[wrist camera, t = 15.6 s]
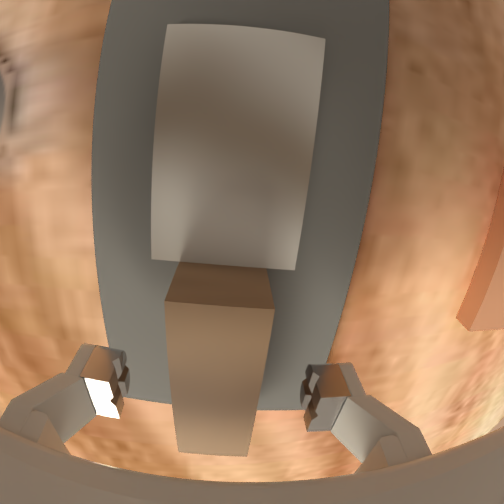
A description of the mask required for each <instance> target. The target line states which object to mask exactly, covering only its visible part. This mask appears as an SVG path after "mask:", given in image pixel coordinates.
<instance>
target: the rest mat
mask: <svg viewBox="0 0 504 504" xmlns="http://www.w3.org/2000/svg"><path fill="white" fill-rule="evenodd" d="M167 24H217V25H234V26H247V27H256V28H265V29H273V30H280V31H287V32H293V33H299V34H304V35H309V36H314V37H319V38H324V39H326V40H325V51H324V62H323V72H322V82H321V91H320V100H319V109H318V117H317V125H316V133H315V141H314V149H313V156H312V164H311V171H310V178H309V185H308V191H307V198H306V205H305V211H304V217H303V224H302V230H301V236H300V242H299V248H298V254H297V260H296V265H295V270H283V269H269V268H266V269H267V274H268V278H269V283H270V288H271V292H272V297H273V302H274V307H275V313H274V319H273V324H272V330H271V336H270V342H269V347H268V353H267V358H266V364H265V369H264V374H263V380H262V385H261V390H260V395H259V401H258V406H257V410H304V409H303V408H302V407H301V402H300V388H301V384H302V381H303V380H305V379H306V374H305V371H306V368H307V366H308V364H326V362H327V359H328V356H329V353H330V349H331V346H332V343H333V340H334V337H335V334H336V330H337V327H338V324H339V320H340V317H341V314H342V310H343V307H344V303H345V300H346V296H347V292H348V289H349V285H350V281H351V277H352V273H353V269H354V265H355V261H356V257H357V253H358V249H359V245H360V240H361V236H362V231H363V227H364V222H365V217H366V212H367V208H368V202H369V197H370V192H371V187H372V181H373V175H374V169H375V163H376V157H377V151H378V144H379V137H380V129H381V121H382V113H383V104H384V94H385V84H386V72H387V57H388V37H389V0H112V2H111V6H110V10H109V15H108V19H107V24H106V29H105V34H104V39H103V45H102V51H101V57H100V64H99V71H98V79H97V87H96V96H95V107H94V120H93V138H92V213H93V231H94V245H95V256H96V266H97V275H98V283H99V291H100V298H101V304H102V311H103V317H104V323H105V328H106V334H107V339H108V344H109V348H113V349H119V350H124V351H125V352H126V356H127V361H126V364H125V365H126V366H127V367H128V368H129V372H130V386H129V391H128V394H127V395H126V396H124V397H127V398H133V399H139V400H145V401H152V402H159V403H167V404H172V399H171V389H170V379H169V368H168V356H167V342H166V326H165V306H164V300H165V298H166V295H167V292H168V290H169V287H170V284H171V282H172V279H173V277H174V274H175V271H176V269H177V266H178V264H179V261H167V260H155V259H151V189H152V163H153V145H154V130H155V118H156V107H157V97H158V87H159V79H160V71H161V63H162V56H163V49H164V43H165V36H166V30H167Z"/></svg>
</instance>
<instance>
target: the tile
mask: <svg viewBox="0 0 504 504" xmlns="http://www.w3.org/2000/svg"><path fill="white" fill-rule="evenodd" d="M456 318H457V319H458V320H459V322H460V323H461V324H462V325H463V326H464V327H465V328H466V329H467V330H468V331H483V330H497V329H504V169H503V174H502V179H501V184H500V189H499V193H498V197H497V202H496V206H495V209H494V213H493V217H492V221H491V224H490V228H489V231H488V234H487V238H486V241H485V244H484V247H483V250H482V253H481V256H480V259H479V262H478V265H477V267H476V270H475V273H474V275H473V278H472V281H471V283H470V286H469V288H468V291H467V293H466V295H465V298H464V300H463V302H462V305H461V307H460V309H459V312H458V314H457V316H456Z"/></svg>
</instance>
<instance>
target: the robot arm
mask: <svg viewBox="0 0 504 504" xmlns="http://www.w3.org/2000/svg"><path fill="white" fill-rule="evenodd" d="M126 361H127V356H126V352H125V351H124V350H119V349H113V348H108V347H103V346H98V345H97V346H96V345H92V344H87V343H84V344H82V345H81V347H80V348H79V350H78V352H77V353H76V355H75V357H74V359H73V360H72V362H71V364H70V366H69V367H68V369H67V371H66V373H60V374H58V375H56V376H54V377H53V378H51V379H49V380H47V381H45V382H43V383H42V384H40V385H38V386H36V387H34V388H32V389H30V390H29V391H27V392H25V393H23V394H21V395H19V396H17V397H16V398H14V399H12V400H11V401H10V403H9V405H8V406H7V408H6V410H5V412H4V413H3V415H2V417H1V419H0V504H504V426H503V427H501V428H499V429H497V430H495V431H493V432H490V433H488V434H486V435H484V436H481V437H479V438H477V439H474V440H472V441H469V442H467V443H464V444H461V445H459V446H456V447H453V448H451V449H448V450H445V451H442V452H439V453H436V454H433V455H432V454H431V451H430V449H429V447H428V445H427V443H426V441H425V439H424V437H423V435H422V433H421V431H420V429H419V428H418V427H416V426H415V425H413V424H412V423H410V422H409V421H407V420H406V419H404V418H403V417H401V416H400V415H399V414H397V413H396V412H394V411H393V410H391V409H390V408H388V407H387V406H385V405H384V404H382V403H381V402H380V401H378V400H377V399H375V398H374V397H372V396H371V395H366V393H365V391H364V389H363V387H362V384H361V382H360V380H359V378H358V375H357V373H356V371H355V369H354V367H353V364H351V363H332V364H308V366H307V368H306V371H305V374H306V379H305V380H303V381H302V384H301V388H300V402H301V407H302V408H303V409H304V410H306V412H305V414H304V421H305V425H306V430H307V432H310V431H330V430H331V432H332V434H333V435H334V436H335V437H336V438H337V439H338V440H339V441H340V442H341V443H342V444H343V445H344V446H345V447H346V448H347V449H348V450H349V451H350V452H351V453H352V454H353V455H354V456H355V457H356V458H357V459H358V460H359V461H360V462H361V463H362V464H361V465H360V467H359V468H358V469H357V470H356V472H355V473H354V474H349V475H343V476H336V477H328V478H320V479H310V480H299V481H283V482H219V481H204V480H192V479H182V478H174V477H166V476H159V475H153V474H147V473H141V472H136V471H131V470H126V469H121V468H117V467H113V466H108V465H104V464H100V463H97V462H93V461H89V460H86V459H82V458H79V457H76V456H72V455H71V454H70V453H69V451H68V449H67V448H66V446H65V445H64V443H65V442H66V441H67V440H68V439H69V438H71V437H72V436H73V435H74V434H75V433H77V432H78V431H79V430H80V429H81V428H82V427H84V426H85V425H86V424H87V423H88V422H90V421H91V420H92V419H93V418H94V417H95V416H97V415H96V414H98V415H103V416H108V417H113V418H119V419H120V416H121V413H122V409H123V406H124V401H123V397H124V396H126V395H127V394H128V391H129V386H130V372H129V368H128V367H127V366H126V365H125V364H126Z"/></svg>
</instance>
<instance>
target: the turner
mask: <svg viewBox="0 0 504 504" xmlns="http://www.w3.org/2000/svg"><path fill="white" fill-rule="evenodd" d="M325 40H326V39H324V38H319V37H314V36H309V35H304V34H299V33H293V32H287V31H280V30H273V29H265V28H256V27H247V26H234V25H217V24H167V30H166V36H165V43H164V49H163V56H162V63H161V71H160V79H159V87H158V97H157V107H156V118H155V130H154V145H153V163H152V189H151V259H155V260H167V261H179V264H178V266H177V269H176V271H175V274H174V277H173V279H172V282H171V284H170V287H169V290H168V292H167V295H166V298H165V300H164V306H165V326H166V342H167V356H168V368H169V379H170V389H171V399H172V408H173V416H174V424H175V431H176V439H177V445H178V452H183V453H192V454H204V455H219V456H247V455H248V450H249V445H250V440H251V436H252V431H253V426H254V421H255V416H256V411H257V406H258V401H259V395H260V390H261V385H262V380H263V374H264V369H265V364H266V358H267V353H268V347H269V342H270V336H271V330H272V324H273V319H274V313H275V307H274V302H273V297H272V292H271V288H270V283H269V278H268V274H267V269H266V268H269V269H283V270H295V265H296V260H297V254H298V248H299V242H300V236H301V230H302V224H303V217H304V211H305V205H306V198H307V191H308V185H309V178H310V171H311V164H312V156H313V149H314V141H315V133H316V125H317V117H318V109H319V100H320V91H321V82H322V72H323V62H324V51H325Z"/></svg>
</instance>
